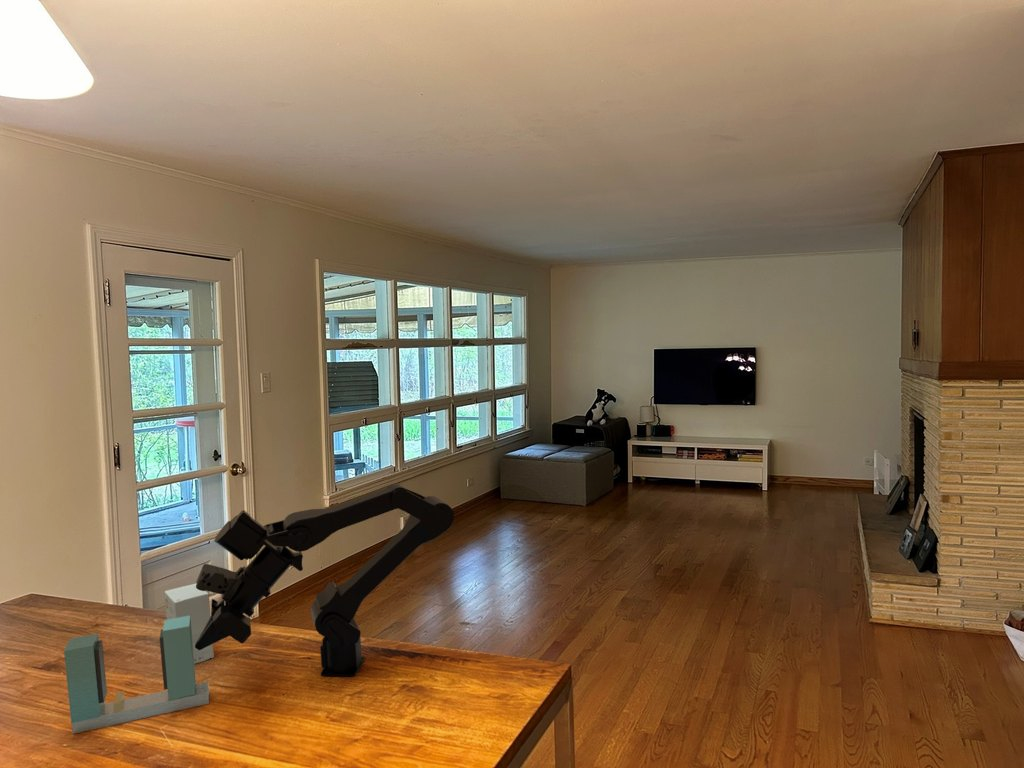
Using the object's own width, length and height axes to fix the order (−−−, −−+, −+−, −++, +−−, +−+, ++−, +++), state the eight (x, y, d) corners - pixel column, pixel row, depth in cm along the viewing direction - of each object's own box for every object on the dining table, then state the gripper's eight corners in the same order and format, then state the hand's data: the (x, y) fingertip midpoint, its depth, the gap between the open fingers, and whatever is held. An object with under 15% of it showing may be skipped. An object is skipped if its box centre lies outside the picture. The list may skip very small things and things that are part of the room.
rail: (209, 691, 124) (203, 614, 122) (208, 704, 119) (202, 625, 118) (78, 719, 116) (70, 638, 115) (72, 735, 112) (64, 650, 110)
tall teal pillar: (195, 681, 123) (190, 615, 122) (194, 694, 118) (189, 626, 117) (166, 687, 121) (160, 620, 120) (164, 701, 116) (158, 631, 115)
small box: (214, 658, 136) (209, 593, 135) (179, 669, 132) (174, 602, 131) (202, 644, 142) (197, 582, 141) (168, 654, 138) (163, 590, 137)
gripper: (223, 533, 129) (161, 602, 126) (224, 565, 112) (152, 645, 109) (271, 568, 133) (212, 635, 130) (278, 603, 116) (210, 682, 112)
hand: (197, 648), depth 120 cm, fingers closed
